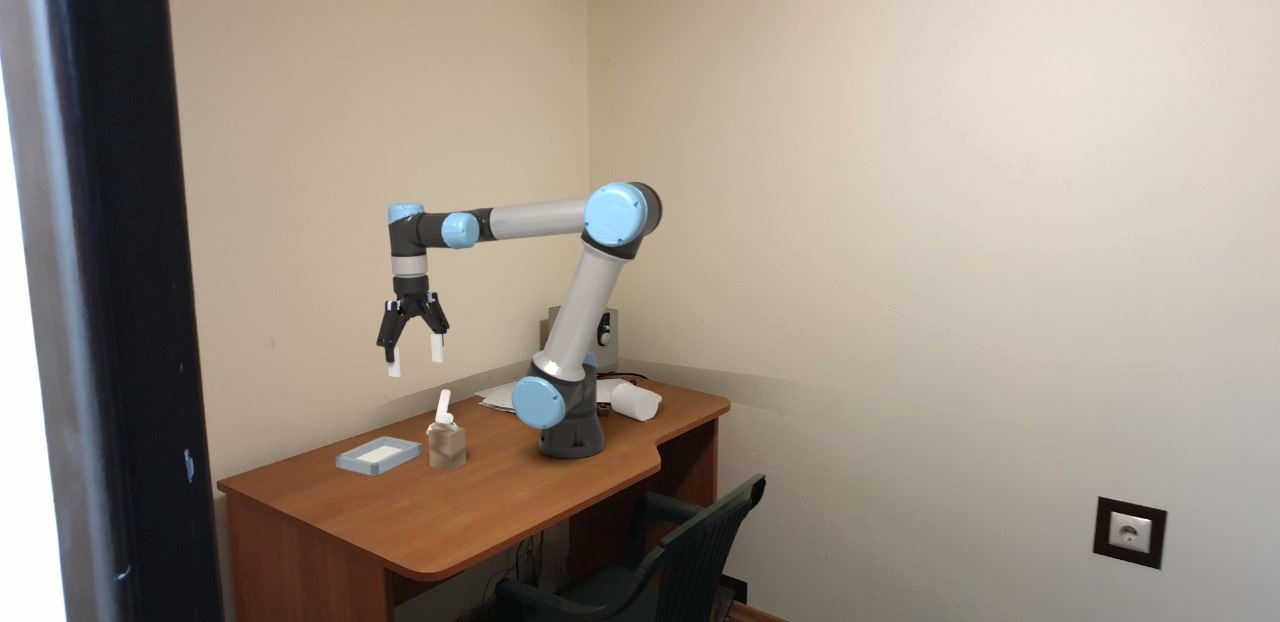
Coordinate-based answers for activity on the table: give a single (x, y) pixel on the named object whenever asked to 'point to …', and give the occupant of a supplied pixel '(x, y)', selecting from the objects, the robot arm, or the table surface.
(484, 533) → the table surface
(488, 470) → the table surface
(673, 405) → the table surface
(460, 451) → the brown cardboard carton
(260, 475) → the table surface
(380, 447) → the tray
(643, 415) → the mug
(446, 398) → the hook
